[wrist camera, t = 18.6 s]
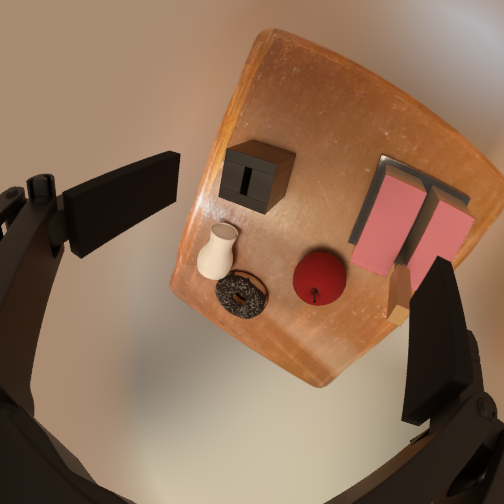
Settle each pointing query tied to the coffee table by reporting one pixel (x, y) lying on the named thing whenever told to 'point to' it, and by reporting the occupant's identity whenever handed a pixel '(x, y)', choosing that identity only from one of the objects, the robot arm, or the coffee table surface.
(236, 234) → the cream ceramic vase
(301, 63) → the coffee table surface
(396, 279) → the knife
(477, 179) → the coffee table surface
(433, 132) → the coffee table surface
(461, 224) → the cake
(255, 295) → the donut
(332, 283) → the apple
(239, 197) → the knife block
